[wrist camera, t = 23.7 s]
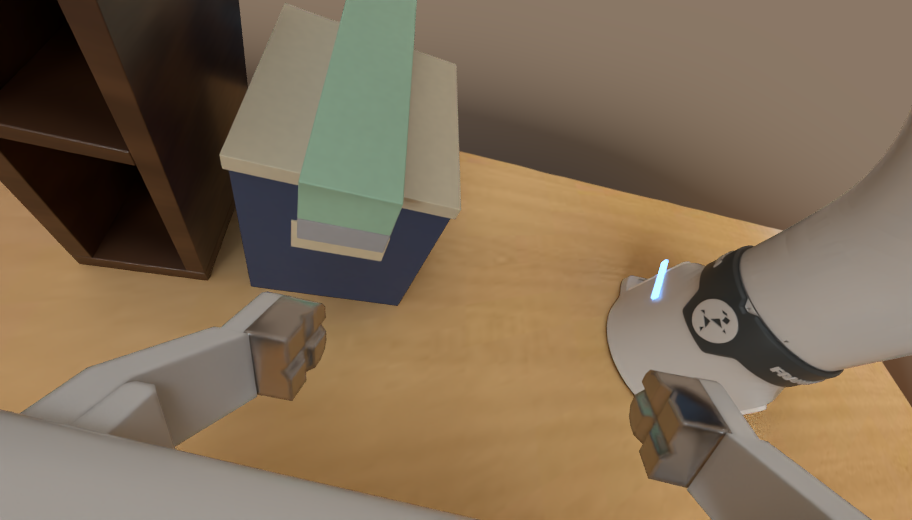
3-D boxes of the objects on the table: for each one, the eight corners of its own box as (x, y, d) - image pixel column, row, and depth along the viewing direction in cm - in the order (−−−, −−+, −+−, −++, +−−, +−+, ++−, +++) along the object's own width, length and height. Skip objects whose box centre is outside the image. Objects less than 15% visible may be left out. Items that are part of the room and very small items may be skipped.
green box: (383, 253, 18) (403, 204, 15) (296, 238, 17) (298, 181, 14) (405, 18, 29) (419, -39, 26) (354, -2, 28) (362, -64, 25)
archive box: (399, 308, 34) (461, 210, 22) (247, 288, 30) (218, 154, 18) (407, 187, 41) (456, 64, 29) (286, 158, 37) (284, 2, 25)
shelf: (207, 280, 29) (-1, -246, 8) (78, 263, 26) (-715, -570, 6) (254, 152, 36) (207, -301, 15) (156, 129, 33) (-61, -453, 13)
